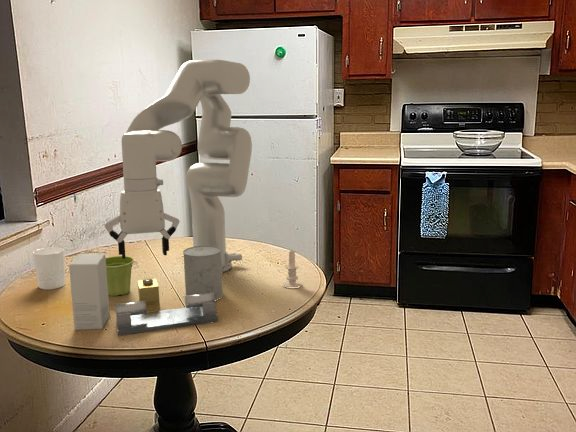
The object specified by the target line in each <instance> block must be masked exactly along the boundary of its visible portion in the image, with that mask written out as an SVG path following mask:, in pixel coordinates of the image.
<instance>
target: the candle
mask: <svg viewBox="0 0 576 432" xmlns="http://www.w3.org/2000/svg"><path fill="white" fill-rule="evenodd" d="M295 251H296V250H294V249H291V250H289V251H288V264H287V265H285V266H284V268H285V269H287V273H288V275H287V276H286V278H285V279H286V280H287V281H284V282H283V283H282V286H283V285H284V286H286V287H298V286H301V285H302V286H303V283H302V282H301V281H298V280H299V276H298V275H297V269H300V265H298V264H296V254H295ZM302 286H301V287H302Z"/></svg>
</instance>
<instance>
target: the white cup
mask: <svg viewBox="0 0 576 432" xmlns="http://www.w3.org/2000/svg"><path fill="white" fill-rule="evenodd" d="M32 257H33V265H34V271H35V274H36V275H35V276H36V279H37V284H38V285H37V286H38V288H39V289H41V290H55V289H60V288H61V287H63V286H65V285H66V276H65V275H66V265H65V264H66V262H65V261H66V260H65V249H64V248H63V247H60V246H50V247H48V246H47V247H42V248H38V249H36V250H35V249H34V250H33V251H32Z"/></svg>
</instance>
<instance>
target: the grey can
mask: <svg viewBox="0 0 576 432" xmlns="http://www.w3.org/2000/svg"><path fill="white" fill-rule="evenodd" d="M182 254H183V265H184V286H185V288H184V289H185V296H187V295H195V294H204V293H212V292H213V293H214V298H215V300H217V299H219V298H221V297H222V295H223V296H224V292H223V276H222V275H223V272H222V268H221V249H220V248H218V247H215V246H195V247H193V246H191V247H187V248H185V249H184V250H183V251H182ZM222 298H223V297H222ZM222 298H221V299H222ZM217 301H218V300H217Z"/></svg>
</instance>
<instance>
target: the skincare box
mask: <svg viewBox="0 0 576 432" xmlns="http://www.w3.org/2000/svg"><path fill="white" fill-rule="evenodd" d="M106 258H107V257H106V252H98V253H95V252H94V253H78V254H76V256H75V257H74V258H73V259H72V261H70V263H69V264H68V270H69V280H70V281H69V282H70V292H71V293H70V294H71V302H72V303H71V304H72V305H71V306H72V315H73V326H74V327H73V328H74V330H75V331H80V330H83V331H84V330H85V331H86V330H103V329H104V327H105V325H106V323H107V321H108V319H109V318H110V315H111V314H110V301H109V295H108V286H107V271H106Z"/></svg>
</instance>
